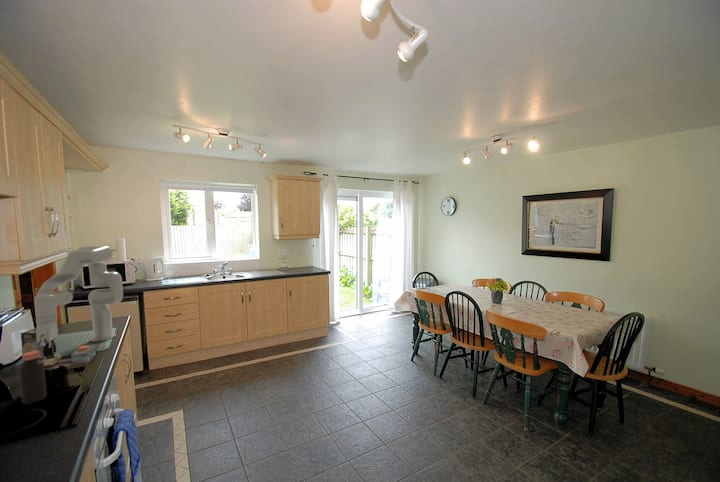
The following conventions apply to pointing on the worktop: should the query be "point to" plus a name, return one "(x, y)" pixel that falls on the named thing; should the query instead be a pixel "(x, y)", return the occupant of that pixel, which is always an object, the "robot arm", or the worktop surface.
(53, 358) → the cream plate with knob
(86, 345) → the button
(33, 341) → the coffee box
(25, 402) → the bottle
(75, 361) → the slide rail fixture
